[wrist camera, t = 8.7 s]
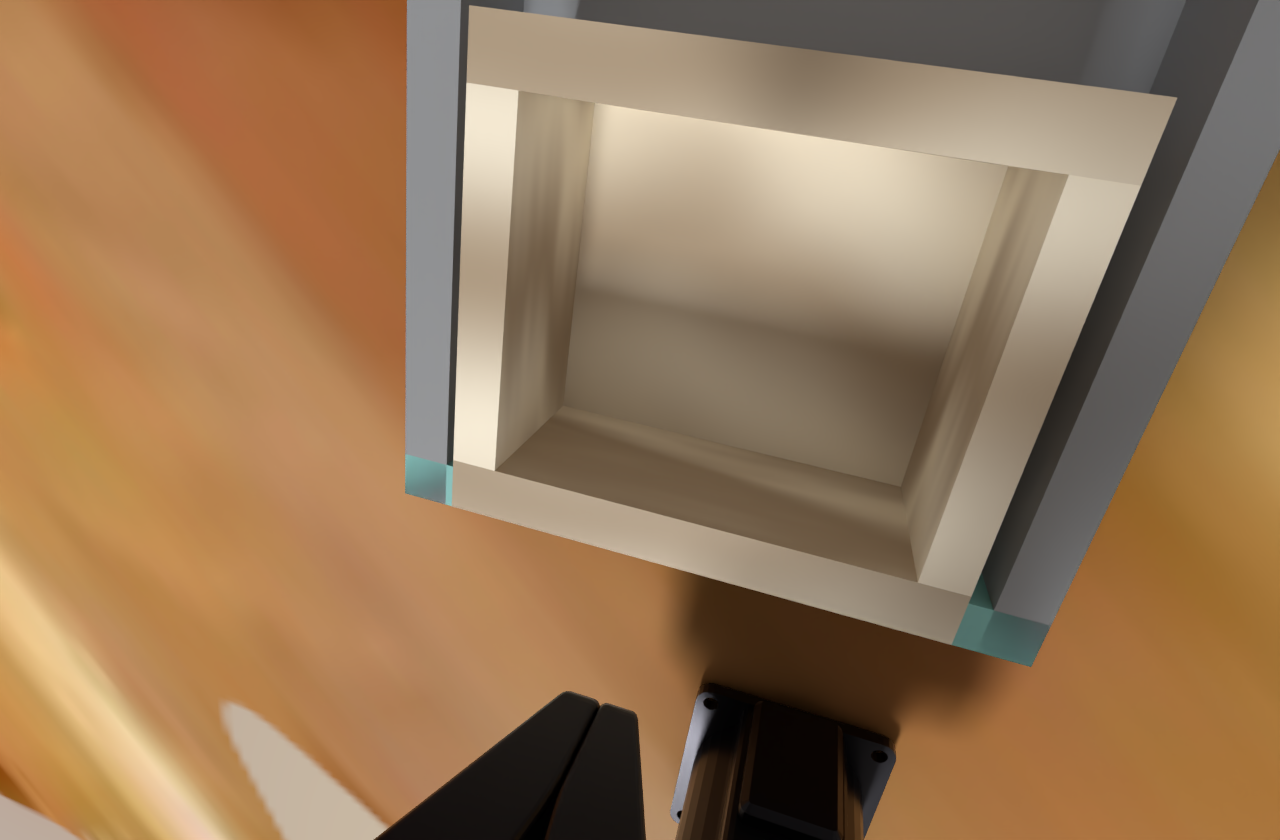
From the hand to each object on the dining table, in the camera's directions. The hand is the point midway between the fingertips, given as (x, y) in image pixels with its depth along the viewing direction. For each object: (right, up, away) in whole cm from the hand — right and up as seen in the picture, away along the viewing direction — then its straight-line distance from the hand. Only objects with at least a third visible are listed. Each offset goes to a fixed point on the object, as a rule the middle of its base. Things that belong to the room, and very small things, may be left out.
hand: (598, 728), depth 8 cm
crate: (+3, +6, +10) cm, 12 cm away
